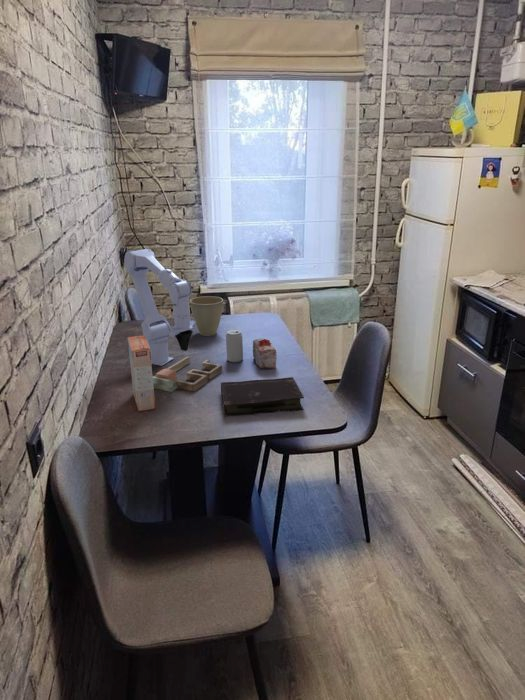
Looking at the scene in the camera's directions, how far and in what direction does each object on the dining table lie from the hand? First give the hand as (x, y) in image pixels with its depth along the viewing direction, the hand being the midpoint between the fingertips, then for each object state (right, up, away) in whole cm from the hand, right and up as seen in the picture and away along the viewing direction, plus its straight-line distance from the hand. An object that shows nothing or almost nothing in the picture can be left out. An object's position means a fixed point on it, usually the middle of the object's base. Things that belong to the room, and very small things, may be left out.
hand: (184, 349), depth 180 cm
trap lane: (+2, -10, -2) cm, 10 cm away
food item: (+29, -6, +10) cm, 32 cm away
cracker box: (-10, -17, -19) cm, 28 cm away
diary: (+28, -18, -20) cm, 39 cm away
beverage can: (+18, -4, +14) cm, 23 cm away
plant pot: (+4, +7, +45) cm, 46 cm away
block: (-5, -13, -7) cm, 15 cm away
